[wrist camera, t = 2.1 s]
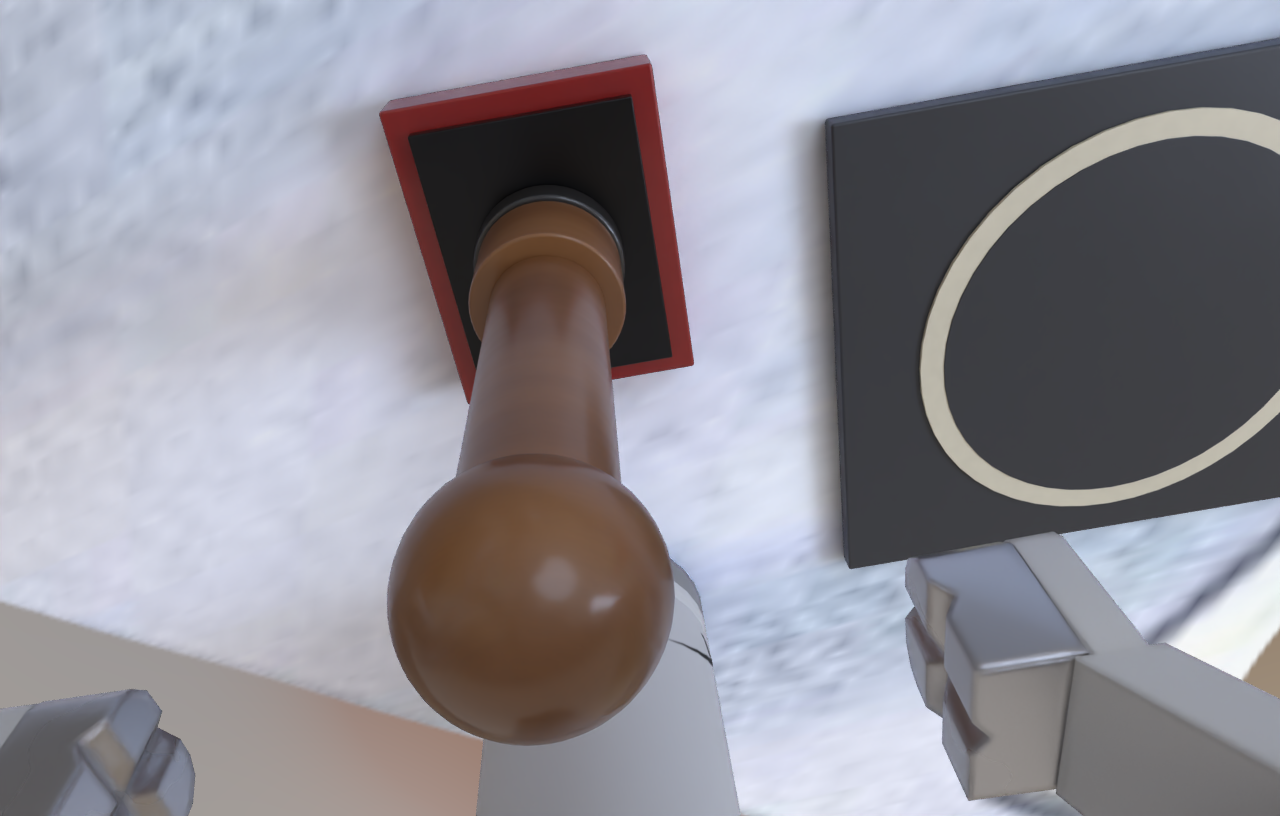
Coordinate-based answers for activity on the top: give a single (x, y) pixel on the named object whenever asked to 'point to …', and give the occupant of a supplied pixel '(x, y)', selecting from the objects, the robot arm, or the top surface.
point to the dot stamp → (536, 500)
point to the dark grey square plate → (1057, 303)
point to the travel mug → (631, 745)
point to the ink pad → (546, 155)
